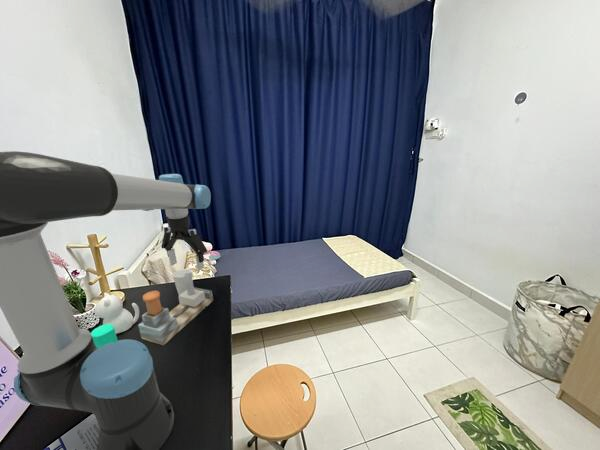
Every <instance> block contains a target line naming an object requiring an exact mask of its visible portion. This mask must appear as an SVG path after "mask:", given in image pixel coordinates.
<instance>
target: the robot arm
mask: <svg viewBox="0 0 600 450" xmlns="http://www.w3.org/2000/svg"><path fill="white" fill-rule="evenodd" d="M211 194H212V193H211V191H210V188H209V187H208V186H207V185H204V184H187V183H185V182H184V180H183V176H182V175H181V174H178V173H166V174H160V175H159V176H158V179H154V178H145V177H138V176H130V175H124V174H116V173H112V172H111V171H110V170H109V169H107V168H105V167H103V166H99V165H92V164H87V163H82V162H77V161H73V160H67V159H64V158H59V157H54V156H50V155H44V154H41V153H34V152H27V151H15V150H13V151H11V150H10V151H0V310H1V311H2V314H3V316H4V317H5V319H6V321H7V323H8V325H9V327H10V330H11V331H12V334H13V335H14V337H15V339H16V340H17V343H18V344H19V347H20V348H21V351H22V352H23V355H22V356H21V357H20V358H19V361H18V363H17V371H16V373H17V375H16V376H15V377H14V378H13V379H14V380H13V389H14V392H15V394H16V396H17V397H18V398H19V399H20V400H22V401H23V402H26V403H29V404H31V405H32V406H33V405H34V406H36V407H37V406H38V407H39V406H40V407H52V408H59V409H64V410H65V409H66V410H74V411H82V412H88V413H92V415H94V416H95V419H96V422H97V424H98V427H99V432H98V440H97V441H98V442H97V447H96V450H160V449H161V448H162V447H163V445H164V444H165V443H166V441H167V440H168V438H169V436H170V434H171V432H172V430H173V428H174V424H175V413H174V410H173V406H172V403H171V402H170V400H169V399H168V398H167V397H166V396H165V395H164V394H163V393H162V392H161V391H160V388H159V384H158V380H157V375H156V370H155V366H154V361H153V357H152V355H151V354H150V352H149V351H150V350H149V349H148V347H147V346H146V345H145V344H144V343H143V342H141V341H139V340H136V339H128V338H127V339H118V341H117V342H116V343H112V342H111V343H108V344H106V345H104V346H102V347H100V348H98V347H96V345H95V343H94V341H93V338H92V336H91V332H90V330H88V329H85V328H79V326H78V323H77V321H76V319H75V315H74V314H73V310H72V309H71V306H70V303H69V301H68V299H67V296H66V293H65V291H64V288H63V286H62V283H61V281H60V279H59V276H58V274H57V271H56V269H55V266H54V264H53V262H52V258H51V257H50V254H49V251H48V249H47V246H46V243H45V242H44V239H43V237H42V234H41V233H42V231H44V229H45V228H46V227H47V225H48V224H49V223H50V222H57V221H65V220H72V219H73V220H74V219H79V218H89V217H103V216H106V215H108V214H110V213H111V212H113V211H139V210H140V211H141V210H142V211H144V212H145V211H146V212H149V211H150V212H151V211H154V210H164V211H165V215H166V220H167V226H165V227H163V237H162V241H161V242H162V243H161V249H165V251H166V253H167V254H166V255H167V257H168V260H169V265H170V266H174V265H177V263H178V261H177V256H176V250H175V248H174V246H175V244H176V242H177V240H178V241H179V240H180V241H184V242H185V243H187V244H188V246H189V247H190V248H191V250H192V251H193V252H194V253H195V254H194V255H195V263H196V267H197V268H196V269H197V271H199V272H200V271H201V270H202V269H204V268H205V264H204V261H205V258H204V254H206V253H207V252H208V249H207V247H206V246H205V244H204V242H203V240H202V238H201V237H200V235H199V232H198V229H197V228H193V229H191V228H190V225H191V219H190V215H188V214H189V209H190V210H191V209H192V210H193V209H195V210H199V209H200V210H201V209H204V210H205V209H207V208H208V207H209V206H210V205H211V198H212V195H211Z"/></svg>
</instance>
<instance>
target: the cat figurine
mask: <svg viewBox="0 0 600 450" xmlns="http://www.w3.org/2000/svg"><path fill="white" fill-rule="evenodd" d="M123 304H124V302H123V301H122V299H121V298H120V296H118V295H114V294H109V293H108V292H104V293H103V297H102V298H101V299H100V300H99V301H98V302H97V304H96V305H95V307H94V314H95V316H96V317H98V318H101V319H103V320H102V325H104V324H111V325H113V326H114V329H115V333H116V335H117V334H120V333H124V332H126V331H128V330H129V329H130V328H131V327H132V326H133V325H134V324H135V323H136V322H137V321H138V320H139V317H140V308H139V306H138V304H137V303H136V302H132V303H131V306H132V308H133V310H134V317H133V315H132V313H131V312H130V311H129V310H127V309H126V308H124V307H123Z"/></svg>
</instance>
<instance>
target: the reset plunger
mask: <svg viewBox="0 0 600 450" xmlns="http://www.w3.org/2000/svg"><path fill="white" fill-rule="evenodd" d="M160 297H161V294H160V291H159V290H151V291H150V290H149V291H147V292H146V293H144V294H143V295H142V300H143V302H144V303H145V306H146V310H147V311H148V314H149V315H153V316H156V315H157V314H158V313H160V312H161V311H162V308H161V307H162V304H161V300H160ZM147 311H146V312H147Z"/></svg>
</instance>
